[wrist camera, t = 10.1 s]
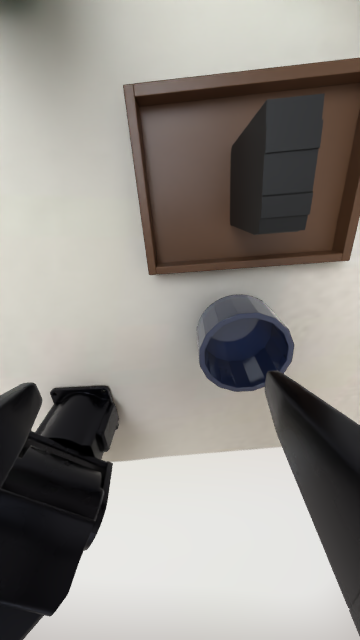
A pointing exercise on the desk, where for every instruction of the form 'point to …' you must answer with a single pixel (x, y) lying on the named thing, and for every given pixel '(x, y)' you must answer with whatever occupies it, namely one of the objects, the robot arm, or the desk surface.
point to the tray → (215, 159)
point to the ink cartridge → (276, 166)
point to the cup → (242, 343)
